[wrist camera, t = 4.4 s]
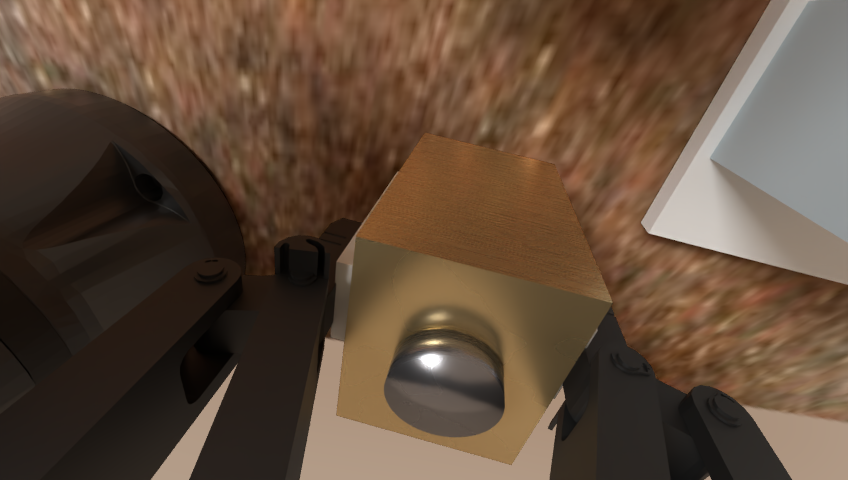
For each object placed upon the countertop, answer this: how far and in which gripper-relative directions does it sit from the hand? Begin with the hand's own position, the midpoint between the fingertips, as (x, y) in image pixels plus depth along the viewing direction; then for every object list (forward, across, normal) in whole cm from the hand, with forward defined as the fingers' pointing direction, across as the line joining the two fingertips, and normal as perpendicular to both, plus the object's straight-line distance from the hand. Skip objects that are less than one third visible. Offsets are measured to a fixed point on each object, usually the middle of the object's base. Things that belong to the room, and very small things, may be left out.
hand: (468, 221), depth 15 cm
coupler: (0, 0, 0) cm, 0 cm away
